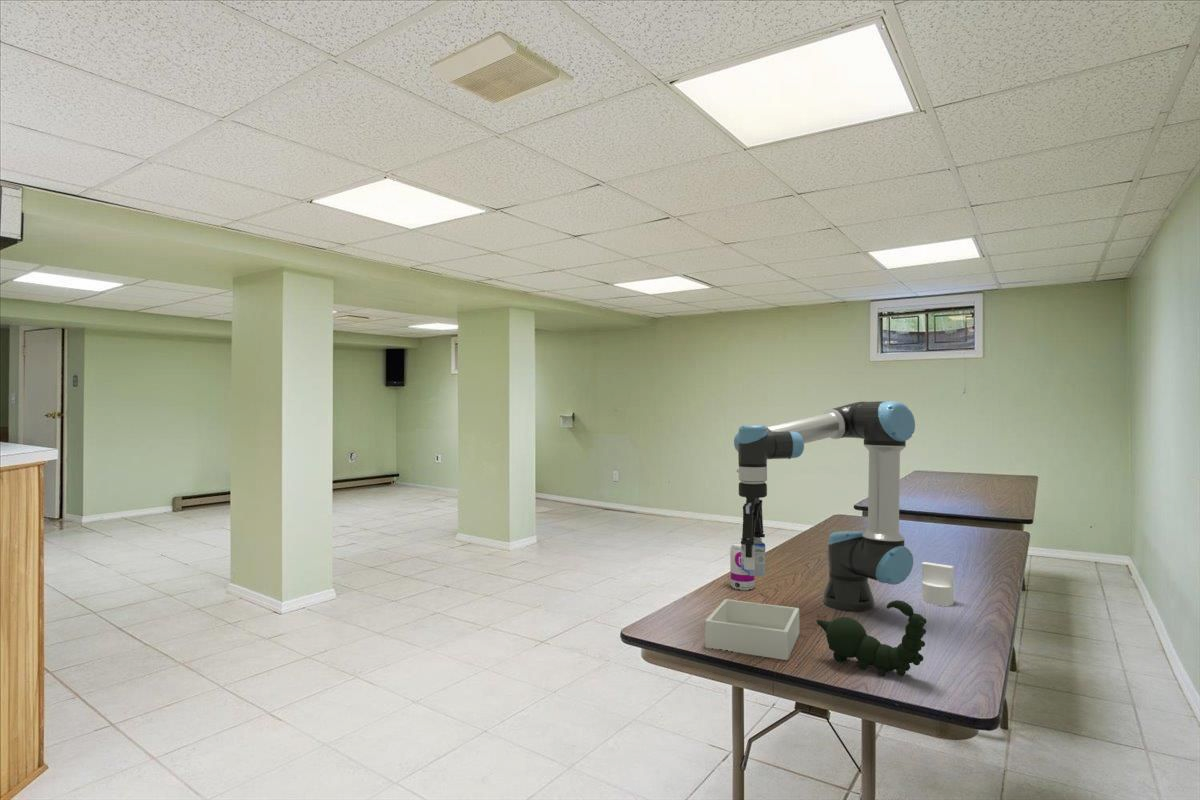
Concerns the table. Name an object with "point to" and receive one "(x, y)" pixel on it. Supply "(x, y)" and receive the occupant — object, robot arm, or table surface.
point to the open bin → (753, 629)
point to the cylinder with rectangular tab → (937, 584)
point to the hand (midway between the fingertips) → (753, 565)
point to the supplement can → (739, 570)
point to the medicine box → (758, 559)
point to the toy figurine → (876, 642)
